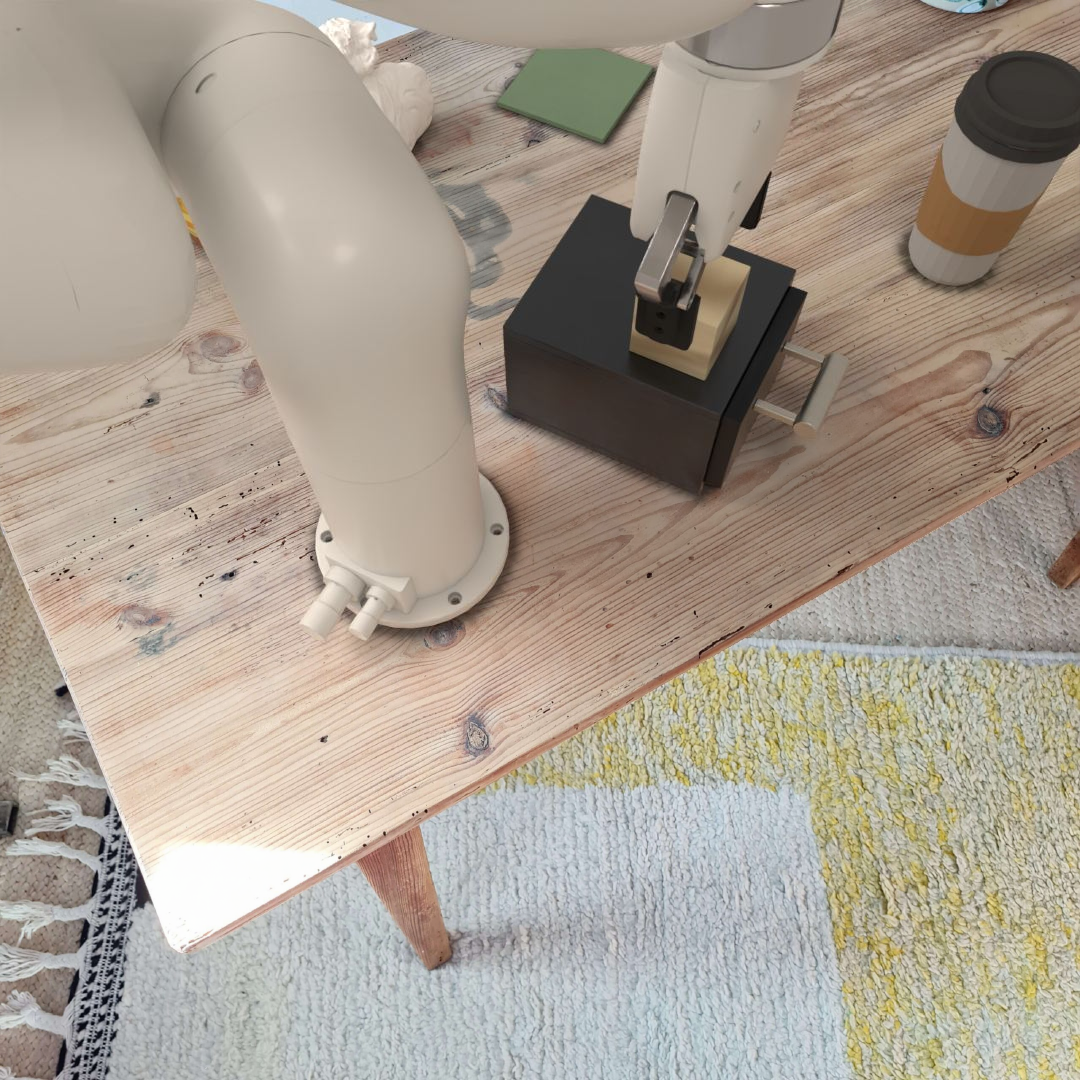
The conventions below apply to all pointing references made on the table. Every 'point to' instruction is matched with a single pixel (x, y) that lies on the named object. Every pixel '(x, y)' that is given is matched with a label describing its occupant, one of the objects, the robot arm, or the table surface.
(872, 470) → the table surface
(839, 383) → the drawer
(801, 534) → the table surface
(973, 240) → the coffee cup
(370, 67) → the bust
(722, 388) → the cabinet
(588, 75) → the mat
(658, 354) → the block
